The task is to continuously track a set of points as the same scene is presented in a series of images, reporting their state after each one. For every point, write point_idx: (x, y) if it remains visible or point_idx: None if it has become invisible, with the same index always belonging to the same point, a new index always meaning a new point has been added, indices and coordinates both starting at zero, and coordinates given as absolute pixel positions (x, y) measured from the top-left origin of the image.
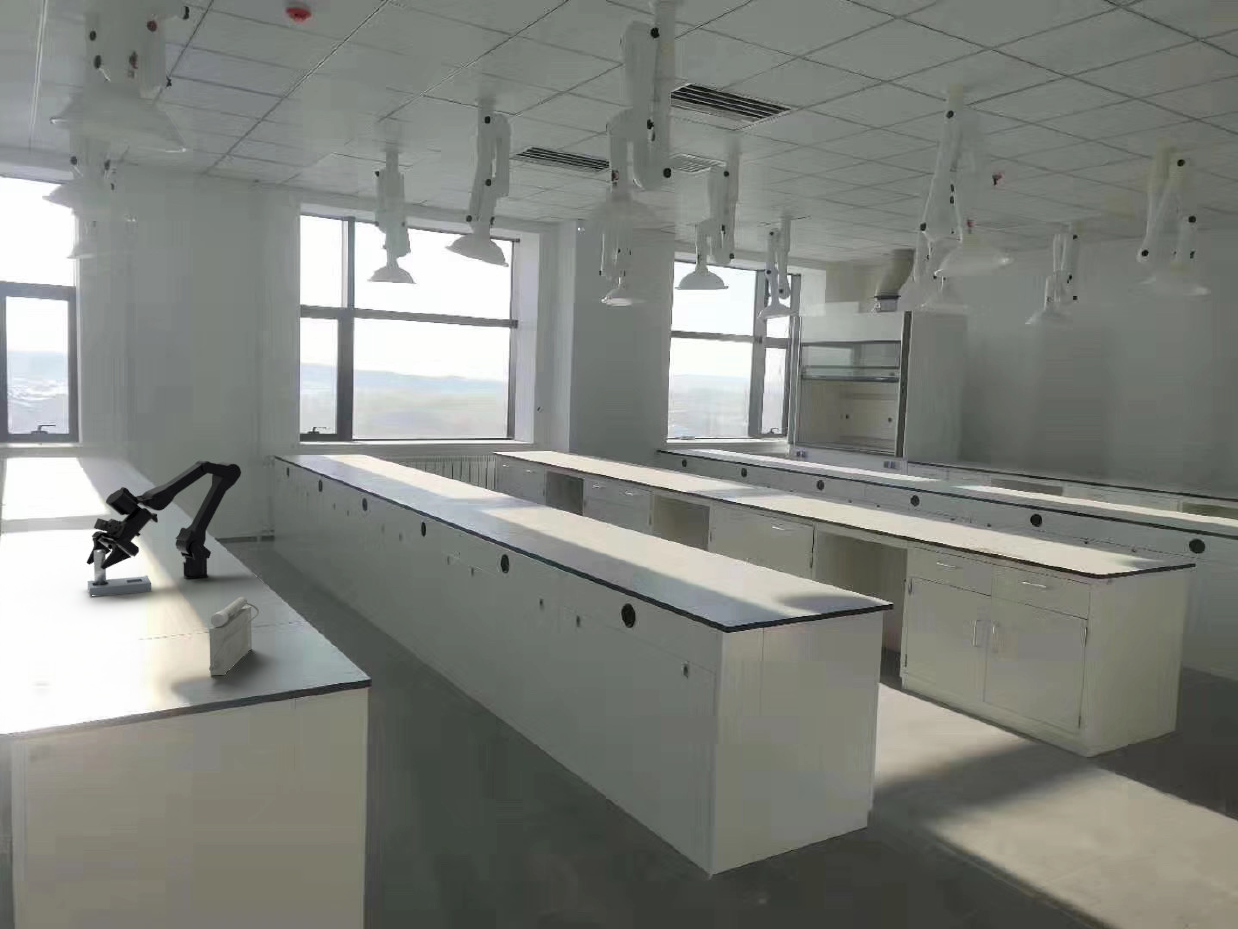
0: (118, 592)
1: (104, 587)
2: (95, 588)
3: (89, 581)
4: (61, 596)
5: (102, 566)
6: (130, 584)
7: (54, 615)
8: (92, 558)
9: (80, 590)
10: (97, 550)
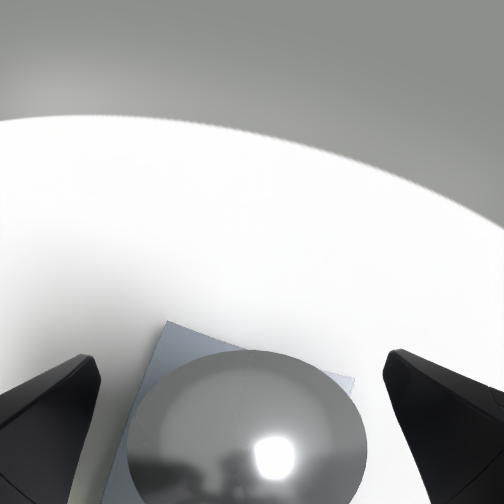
0: None
1: (142, 386)
2: (157, 346)
3: (341, 384)
4: (275, 254)
5: (72, 359)
6: (112, 490)
7: (68, 172)
8: (414, 397)
9: (340, 350)
10: (298, 439)
